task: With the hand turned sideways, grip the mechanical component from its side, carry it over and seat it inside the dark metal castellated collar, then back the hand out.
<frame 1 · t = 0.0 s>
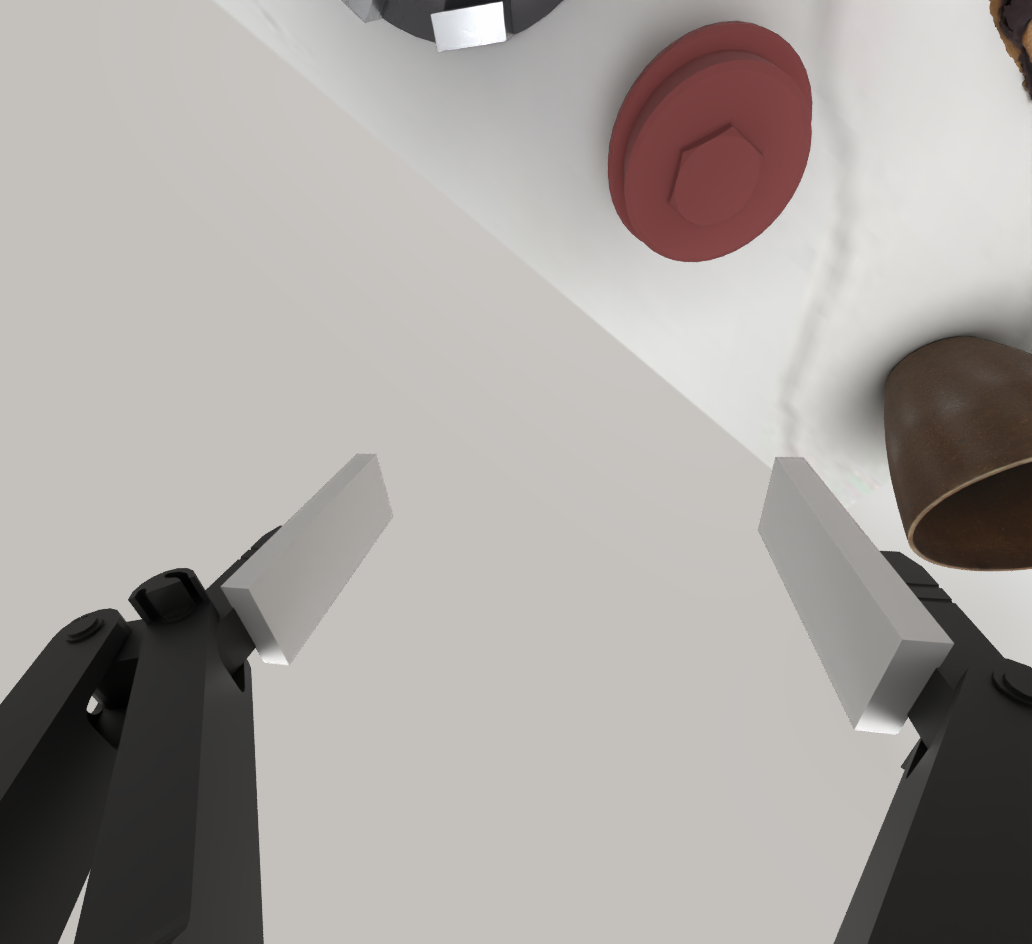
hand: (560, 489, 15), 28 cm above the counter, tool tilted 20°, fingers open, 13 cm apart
mechanical component: (685, 120, 29), on the counter
plant pot: (934, 371, 39), on the counter
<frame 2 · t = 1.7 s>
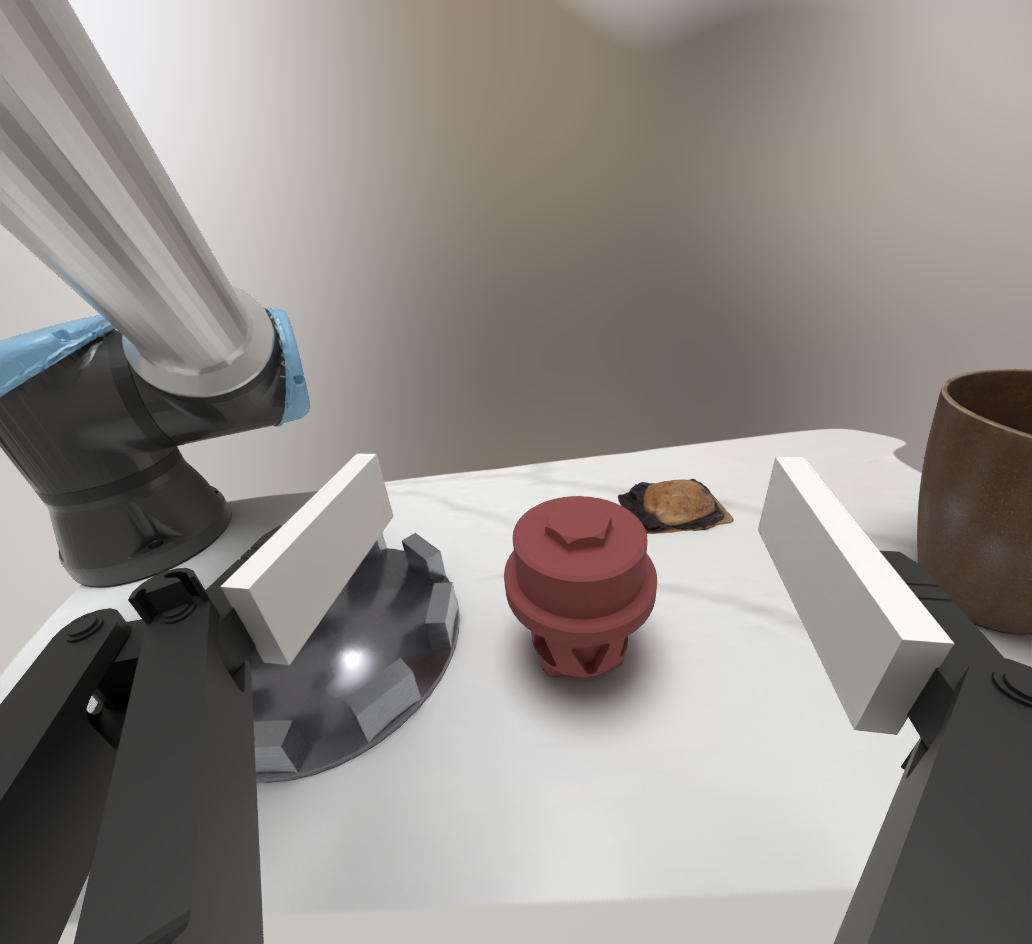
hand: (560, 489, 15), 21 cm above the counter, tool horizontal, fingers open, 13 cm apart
bread roll: (671, 513, 48), on the counter
castellated collar: (331, 638, 36), on the counter
mechanical component: (579, 650, 33), on the counter
plant pot: (981, 599, 34), on the counter
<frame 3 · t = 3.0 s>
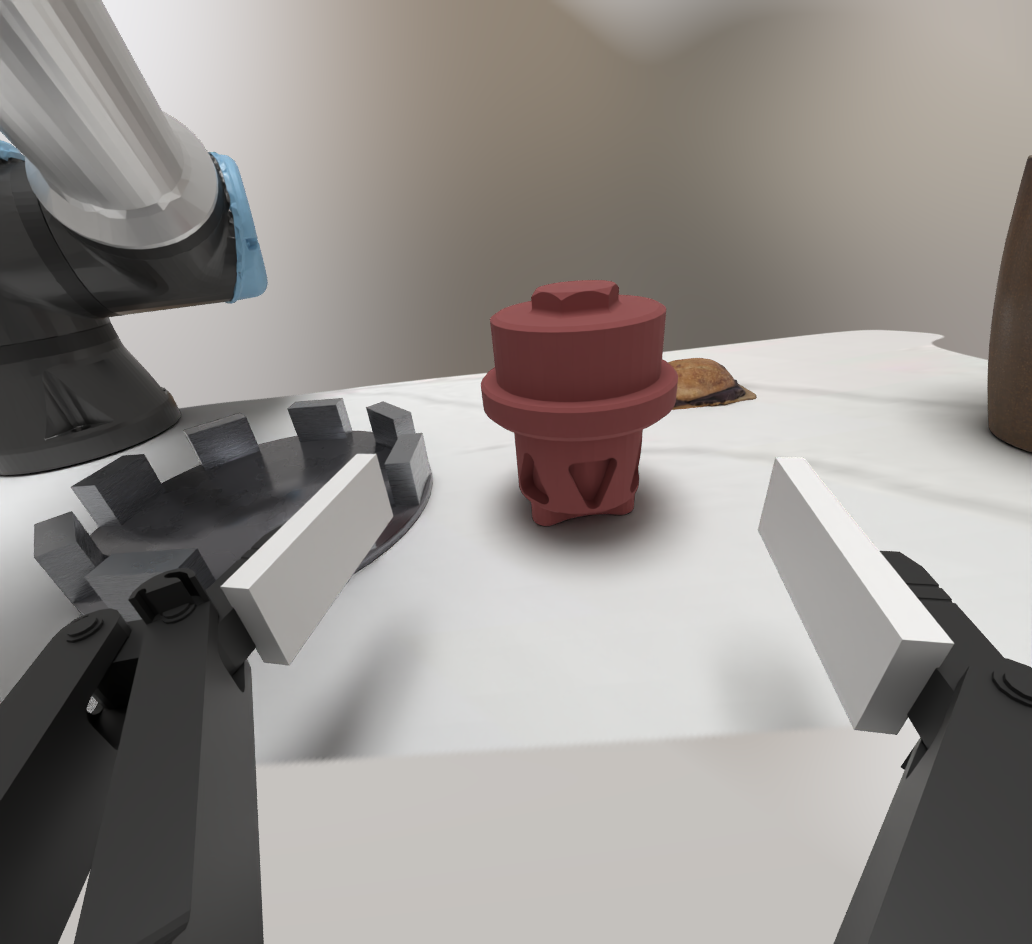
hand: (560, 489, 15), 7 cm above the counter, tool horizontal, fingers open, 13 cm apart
bread roll: (683, 398, 41), on the counter
castellated collar: (275, 505, 29), on the counter
mechanical component: (578, 505, 27), on the counter
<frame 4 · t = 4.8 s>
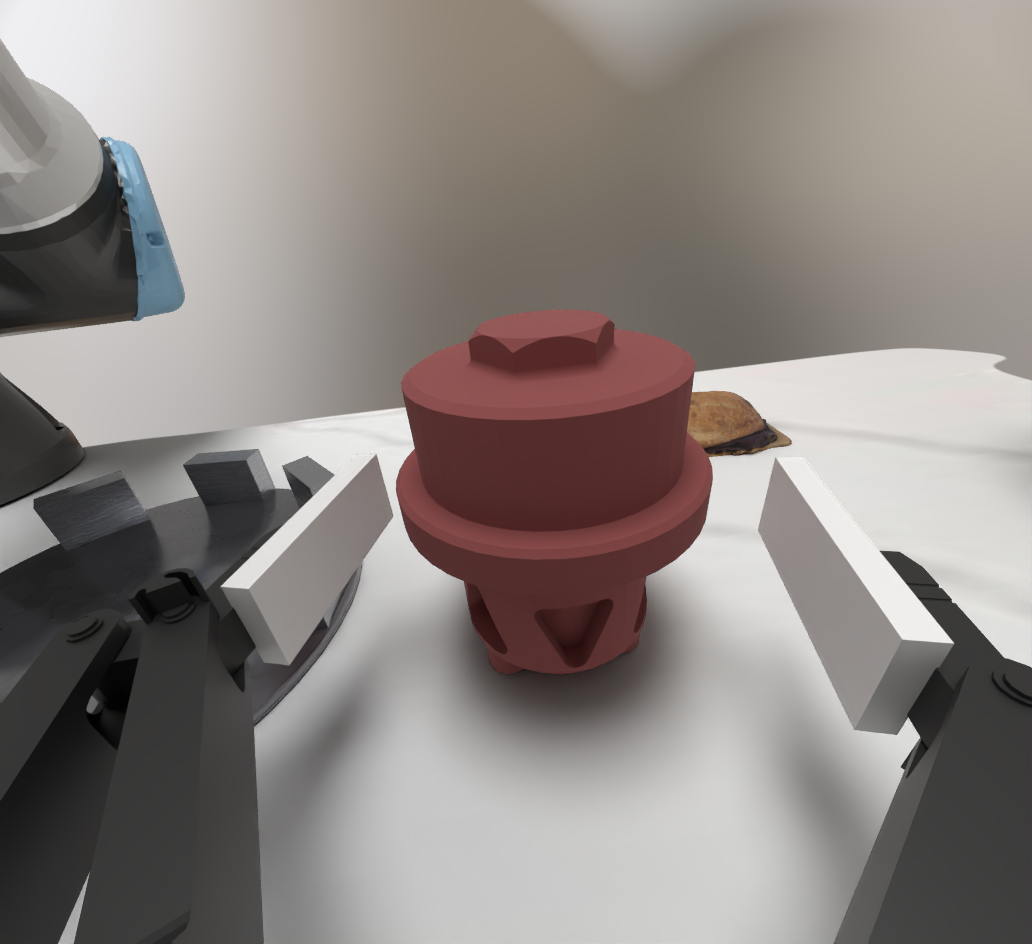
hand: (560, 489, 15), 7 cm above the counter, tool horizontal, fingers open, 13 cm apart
bread roll: (697, 440, 33), on the counter
castellated collar: (137, 616, 21), on the counter
mechanical component: (557, 627, 18), on the counter
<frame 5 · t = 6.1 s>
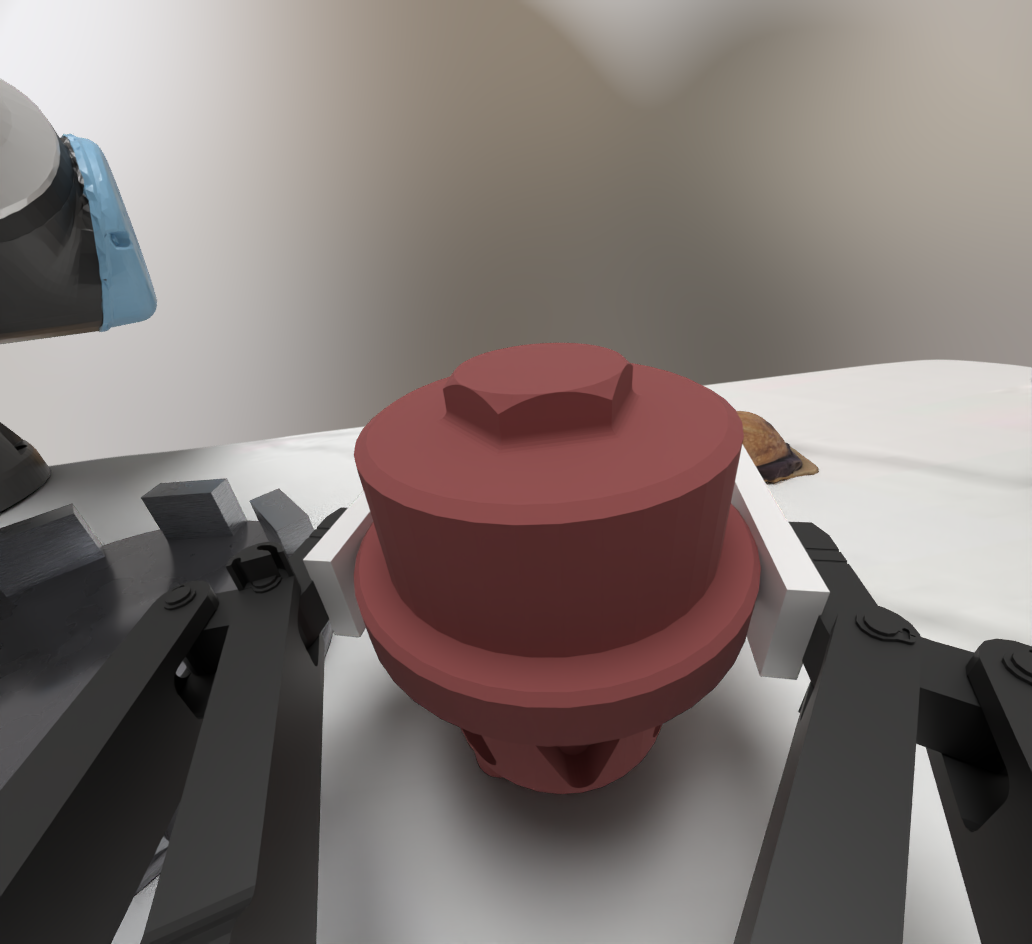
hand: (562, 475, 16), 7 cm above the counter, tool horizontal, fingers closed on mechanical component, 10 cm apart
bread roll: (712, 464, 30), on the counter
castellated collar: (73, 682, 18), on the counter
mechanical component: (558, 708, 16), on the counter, touching gripper
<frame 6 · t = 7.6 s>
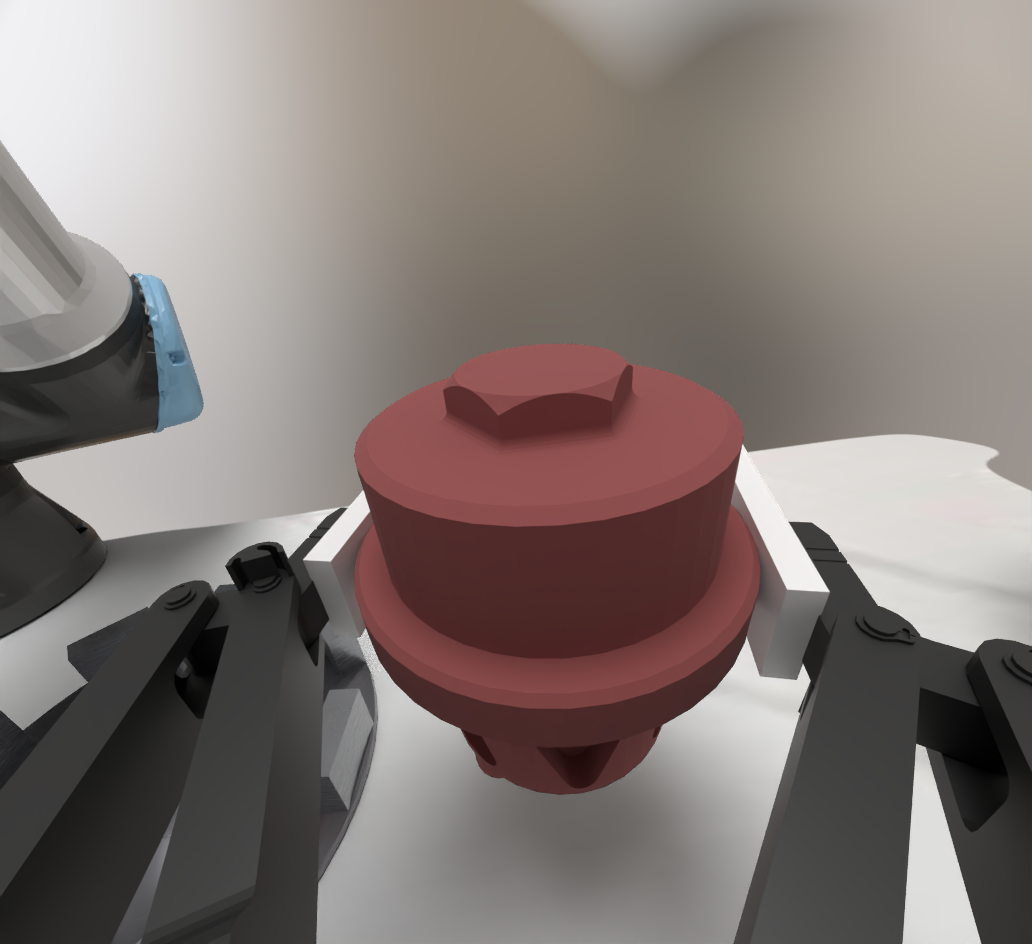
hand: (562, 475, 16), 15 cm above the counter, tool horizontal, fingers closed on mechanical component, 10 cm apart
castellated collar: (167, 779, 22), on the counter
mechanical component: (558, 709, 16), point 8 cm above the counter, touching gripper
when the fingers open (9 cm above the counter, at t = 12.5 s): mechanical component drops 1 cm, resting on castellated collar.
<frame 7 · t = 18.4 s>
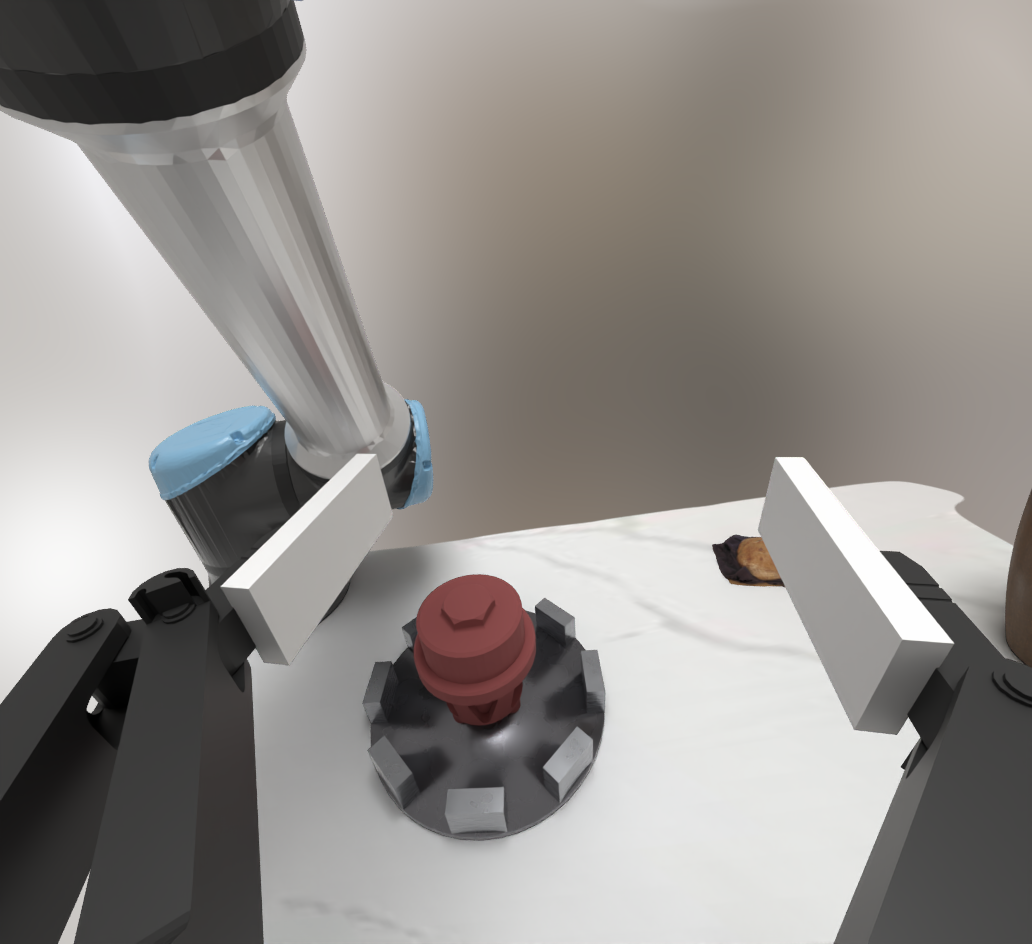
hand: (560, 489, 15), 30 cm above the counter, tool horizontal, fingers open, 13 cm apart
bread roll: (762, 567, 53), on the counter
castellated collar: (488, 700, 40), on the counter
mechanical component: (486, 698, 40), resting on castellated collar
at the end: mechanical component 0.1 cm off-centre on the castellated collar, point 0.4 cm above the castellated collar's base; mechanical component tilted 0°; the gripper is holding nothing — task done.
